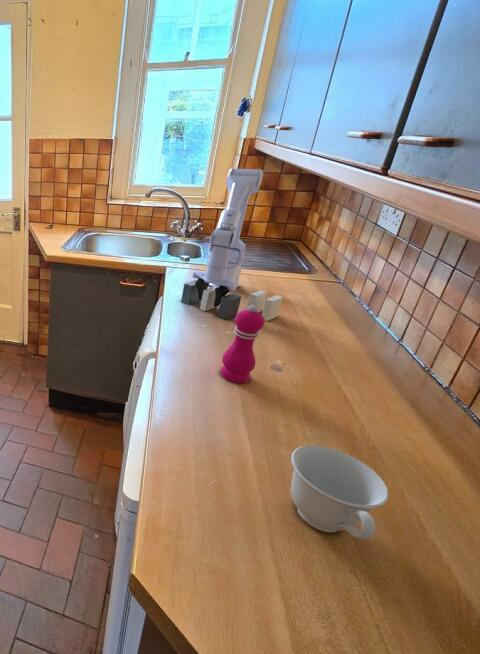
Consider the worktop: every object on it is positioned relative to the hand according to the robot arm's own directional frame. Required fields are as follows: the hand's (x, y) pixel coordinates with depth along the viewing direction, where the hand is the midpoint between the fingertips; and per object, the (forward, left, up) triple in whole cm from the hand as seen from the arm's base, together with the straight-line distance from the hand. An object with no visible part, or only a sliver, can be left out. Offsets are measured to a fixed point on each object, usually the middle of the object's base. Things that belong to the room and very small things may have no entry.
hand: (208, 303), depth 138 cm
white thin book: (0, 0, -2) cm, 2 cm away
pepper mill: (+30, +28, -2) cm, 41 cm away
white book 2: (-10, +15, -2) cm, 18 cm away
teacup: (+57, +60, -2) cm, 83 cm away
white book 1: (-10, +10, -2) cm, 14 cm away
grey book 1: (0, -7, -2) cm, 7 cm away
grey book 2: (0, +7, -2) cm, 7 cm away
